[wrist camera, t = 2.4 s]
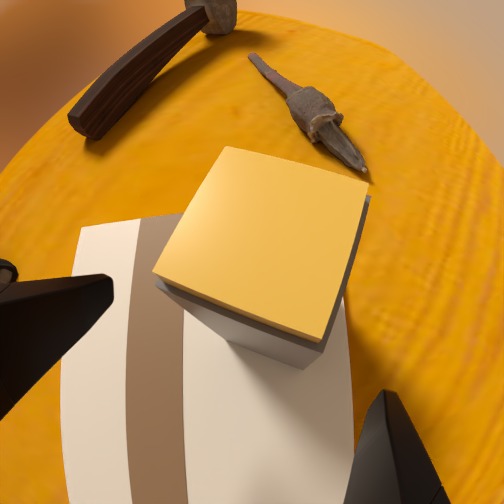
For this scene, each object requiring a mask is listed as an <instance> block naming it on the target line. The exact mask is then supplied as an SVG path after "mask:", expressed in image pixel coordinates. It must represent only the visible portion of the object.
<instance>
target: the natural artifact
mask: <svg viewBox="0 0 504 504" xmlns="http://www.w3.org/2000/svg"><path fill="white" fill-rule="evenodd" d="M248 58H249V59H250V60H251V61H252V62H253V64H254V65H255V66H256V67H257V69H258V71H259V72H260V73H261V74H263V75H264V76H265V77H266V78H267V79H268V80H270V81H271V82H272V83H273V84H275V85H276V86H277V87H278V88H279V89H281V90H282V91H283V92H284V93H285V95H286V96H287V99H286V104H287V106H288V107H289V109H290V113H291V116H292V118H293V120H294V121H295V122H296V124H297V125H298V126H299V127H300V128H301V129H302V130H303V131H305V132H306V133H307V136H308V137H309V138H310V139H311V141H310V142H311V143H316V142H319V141H322V142H323V144H324V145H325V147H326V148H327V149H328V150H329V151H330V152H331V153H333V154H334V155H335V156H336V157H338V158H339V159H341V160H342V161H343V162H344V164H345V165H347V166H349V167H352V168H354V169H356V170H358V171H363V172H364V173H366V172H367V168H365V162H364V160H363V157H362V156H361V154H360V152H359V151H358V150H357V149H356V148H355V146H354V145H353V144H352V143H351V141H350V140H349V139H348V137H347V136H346V135H345V134H344V133H343V131H342V130H341V129H340V128H339V126H340V125H341V123H342V120H343V118H344V116H343V115H342V114H341V113H337V112H336V110H335V106H334V104H333V103H332V102H331V101H330V100H329V98H328V97H326V96H325V95H324V94H323V93H321V92H319V91H318V90H316V89H315V88H314V87H312V86H310V87H304V88H303V87H300V86H298V85H296V84H294V83H292V82H291V81H289V80H287V79H286V78H284V77H283V76H281V75H280V74H279V73H277V71H276V70H274V69H272V68H270V67H269V66H268V65H267V64H266V63H265V62H264V61H263V60H262V59H261V58H260V57H259V56H258V55H257V54H256V53H254V52H253V53H250V54H249V55H248Z"/></svg>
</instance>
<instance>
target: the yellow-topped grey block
mask: <svg viewBox="0 0 504 504" xmlns="http://www.w3.org/2000/svg"><path fill="white" fill-rule="evenodd" d="M368 185H369V183H366V182H363V181H360V180H357V179H354V178H350V177H347V176H344V175H340V174H337V173H334V172H330V171H327V170H323V169H320V168H316V167H313V166H309V165H305V164H301V163H298V162H294V161H290V160H286V159H282V158H278V157H274V156H269V155H265V154H261V153H256V152H252V151H247V150H243V149H238V148H233V147H228V146H225V148H224V149H223V151H222V153H221V154H220V156H219V157H218V159H217V160H216V162H215V164H214V165H213V167H212V168H211V170H210V171H209V173H208V175H207V176H206V178H205V180H204V181H203V183H202V184H201V186H200V188H199V189H198V191H197V193H196V194H195V196H194V198H193V199H192V201H191V203H190V204H189V206H188V208H187V209H186V211H185V213H184V215H183V216H182V218H181V220H180V221H179V223H178V225H177V227H176V228H175V230H174V232H173V234H172V236H171V237H170V239H169V241H168V243H167V245H166V246H165V248H164V250H163V252H162V254H161V255H160V257H159V259H158V261H157V263H156V265H155V267H154V269H153V270H152V272H153V273H154V274H155V275H156V276H157V277H158V280H157V282H156V284H155V286H156V287H157V288H158V289H160V290H161V291H162V292H163V293H165V294H166V295H167V296H168V297H170V298H171V299H172V300H173V301H175V302H176V303H177V304H178V305H180V306H181V307H182V308H183V309H185V310H186V311H187V312H189V313H190V314H191V315H193V316H194V317H195V318H196V319H198V320H199V321H200V322H202V323H203V324H204V325H206V326H207V327H208V328H210V329H211V330H212V331H214V332H215V333H216V334H218V335H219V336H221V337H222V338H223V339H225V340H227V341H229V342H232V343H234V344H236V345H239V346H241V347H244V348H246V349H248V350H251V351H253V352H256V353H258V354H261V355H263V356H266V357H269V358H271V359H274V360H276V361H279V362H282V363H284V364H287V365H290V366H292V367H295V368H298V369H301V370H304V369H305V368H307V367H308V366H309V365H310V364H311V363H313V362H314V361H315V360H316V359H317V358H318V357H320V356H321V355H322V354H323V352H324V349H325V347H326V344H327V341H328V339H329V336H330V333H331V330H332V327H333V325H334V322H335V319H336V316H337V313H338V310H339V307H340V304H341V301H342V298H343V295H344V292H345V289H346V286H347V282H348V279H349V276H350V273H351V269H352V266H353V263H354V259H355V256H356V252H357V249H358V245H359V241H360V238H361V234H362V230H363V226H364V223H365V219H366V215H367V211H368V207H369V202H370V198H371V196H369V195H366V194H367V189H368Z"/></svg>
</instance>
